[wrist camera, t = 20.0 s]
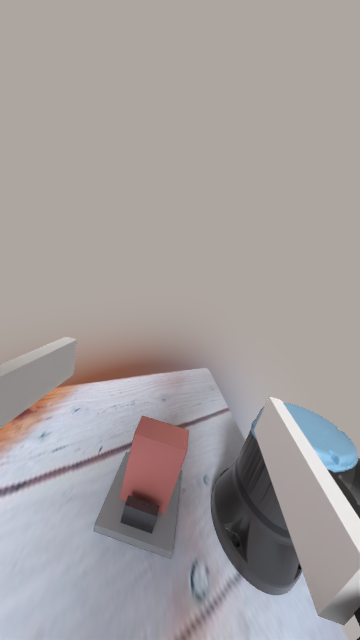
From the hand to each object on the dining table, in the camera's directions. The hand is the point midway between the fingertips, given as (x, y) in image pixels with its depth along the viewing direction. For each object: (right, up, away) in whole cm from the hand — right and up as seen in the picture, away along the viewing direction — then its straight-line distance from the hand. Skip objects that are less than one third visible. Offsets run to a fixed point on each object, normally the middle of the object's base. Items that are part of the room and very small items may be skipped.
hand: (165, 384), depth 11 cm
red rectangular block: (-5, -26, +19) cm, 33 cm away
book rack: (-5, -28, +19) cm, 34 cm away
